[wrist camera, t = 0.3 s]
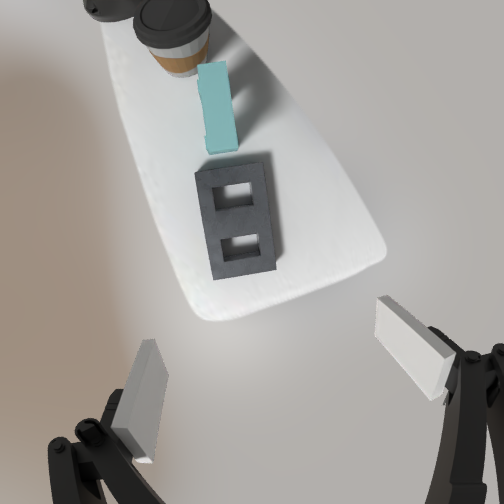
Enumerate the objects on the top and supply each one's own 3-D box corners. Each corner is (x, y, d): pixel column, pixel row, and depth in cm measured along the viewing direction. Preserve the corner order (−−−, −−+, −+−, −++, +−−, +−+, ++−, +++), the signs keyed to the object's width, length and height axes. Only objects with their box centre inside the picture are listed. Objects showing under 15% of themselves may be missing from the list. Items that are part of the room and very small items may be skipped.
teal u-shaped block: (200, 93, 34) (194, 65, 24) (226, 89, 35) (228, 60, 24) (210, 159, 37) (205, 153, 27) (235, 155, 37) (241, 147, 27)
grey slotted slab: (196, 172, 37) (194, 172, 35) (260, 163, 38) (262, 162, 36) (213, 274, 41) (213, 280, 39) (273, 264, 42) (276, 269, 40)
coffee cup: (220, 42, 32) (222, -14, 18) (204, 89, 34) (196, 44, 20) (167, 35, 31) (147, -19, 16) (150, 81, 33) (116, 38, 18)
